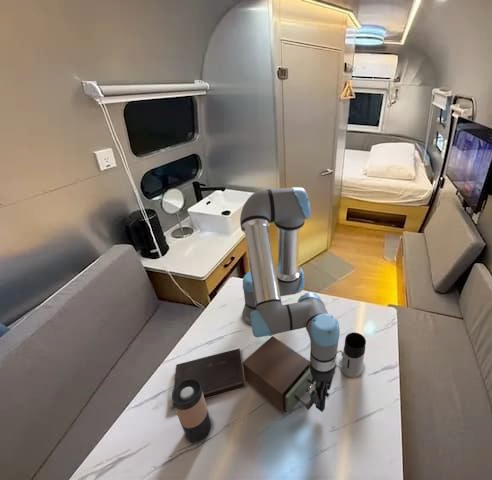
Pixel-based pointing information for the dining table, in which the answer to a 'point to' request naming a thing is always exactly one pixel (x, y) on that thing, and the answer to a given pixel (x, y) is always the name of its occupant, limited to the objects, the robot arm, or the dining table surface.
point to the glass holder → (353, 355)
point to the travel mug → (192, 410)
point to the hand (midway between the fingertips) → (320, 407)
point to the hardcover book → (213, 373)
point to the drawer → (298, 391)
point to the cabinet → (274, 370)
